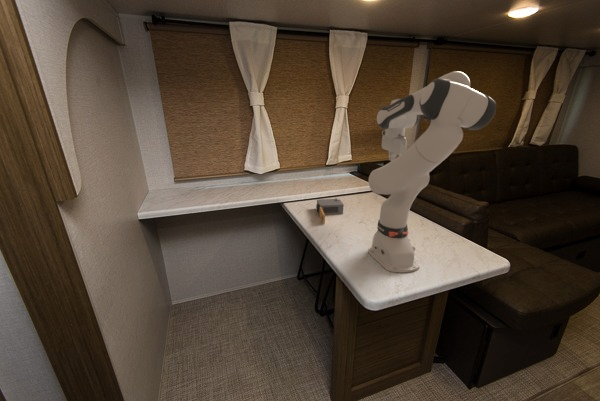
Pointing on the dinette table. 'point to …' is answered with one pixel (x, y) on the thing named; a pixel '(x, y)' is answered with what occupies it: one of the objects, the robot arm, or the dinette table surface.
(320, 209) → the side door
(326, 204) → the camera block
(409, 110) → the robot arm
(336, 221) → the dinette table surface
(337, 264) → the dinette table surface
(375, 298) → the dinette table surface
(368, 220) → the dinette table surface
